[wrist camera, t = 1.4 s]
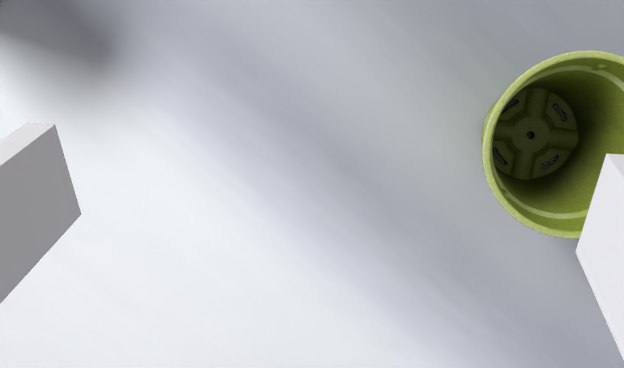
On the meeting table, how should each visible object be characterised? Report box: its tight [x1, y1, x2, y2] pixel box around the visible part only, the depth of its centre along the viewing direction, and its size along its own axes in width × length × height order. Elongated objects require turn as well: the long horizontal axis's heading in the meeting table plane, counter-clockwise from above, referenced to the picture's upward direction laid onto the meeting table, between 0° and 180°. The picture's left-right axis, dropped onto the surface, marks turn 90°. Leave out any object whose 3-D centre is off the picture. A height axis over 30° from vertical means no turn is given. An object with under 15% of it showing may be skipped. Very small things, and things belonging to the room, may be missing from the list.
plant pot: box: [482, 51, 624, 239], centre depth 31 cm, size 9×9×9 cm
